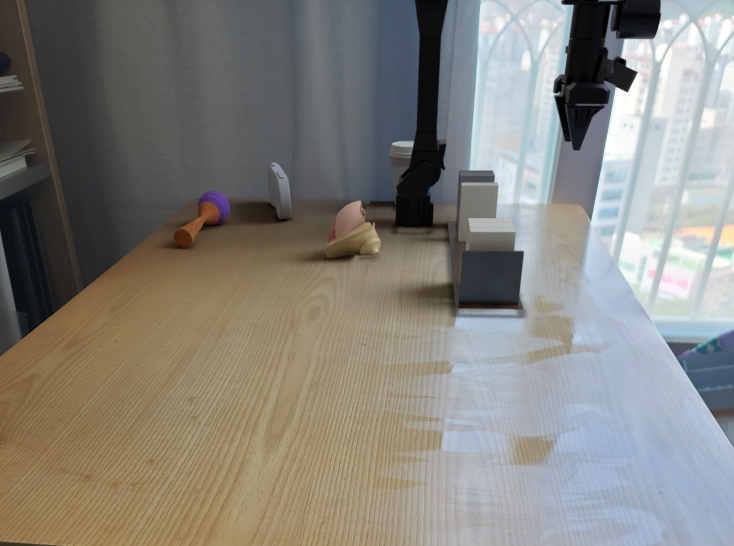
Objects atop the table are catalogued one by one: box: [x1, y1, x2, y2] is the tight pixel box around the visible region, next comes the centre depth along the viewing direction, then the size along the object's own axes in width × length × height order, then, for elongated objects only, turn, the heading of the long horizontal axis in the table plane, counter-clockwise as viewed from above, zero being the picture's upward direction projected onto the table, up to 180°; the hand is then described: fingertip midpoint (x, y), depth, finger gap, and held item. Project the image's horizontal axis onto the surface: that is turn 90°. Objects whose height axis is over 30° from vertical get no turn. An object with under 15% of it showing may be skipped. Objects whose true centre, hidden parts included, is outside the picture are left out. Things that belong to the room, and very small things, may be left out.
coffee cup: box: [388, 140, 414, 205], centre depth 150 cm, size 9×8×12 cm
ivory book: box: [458, 182, 500, 242], centre depth 126 cm, size 6×2×9 cm, turn 86°
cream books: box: [466, 217, 517, 251], centre depth 103 cm, size 6×7×9 cm
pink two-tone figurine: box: [325, 199, 382, 259], centre depth 122 cm, size 9×10×10 cm
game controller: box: [267, 162, 292, 220], centre depth 149 cm, size 20×2×8 cm, turn 13°
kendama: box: [173, 190, 231, 249], centre depth 137 cm, size 6×6×20 cm
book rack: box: [447, 220, 525, 310], centre depth 118 cm, size 9×48×8 cm, turn 176°
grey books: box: [455, 169, 496, 229], centre depth 134 cm, size 6×5×9 cm
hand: (571, 145), depth 128 cm, fingers open, 9 cm apart
